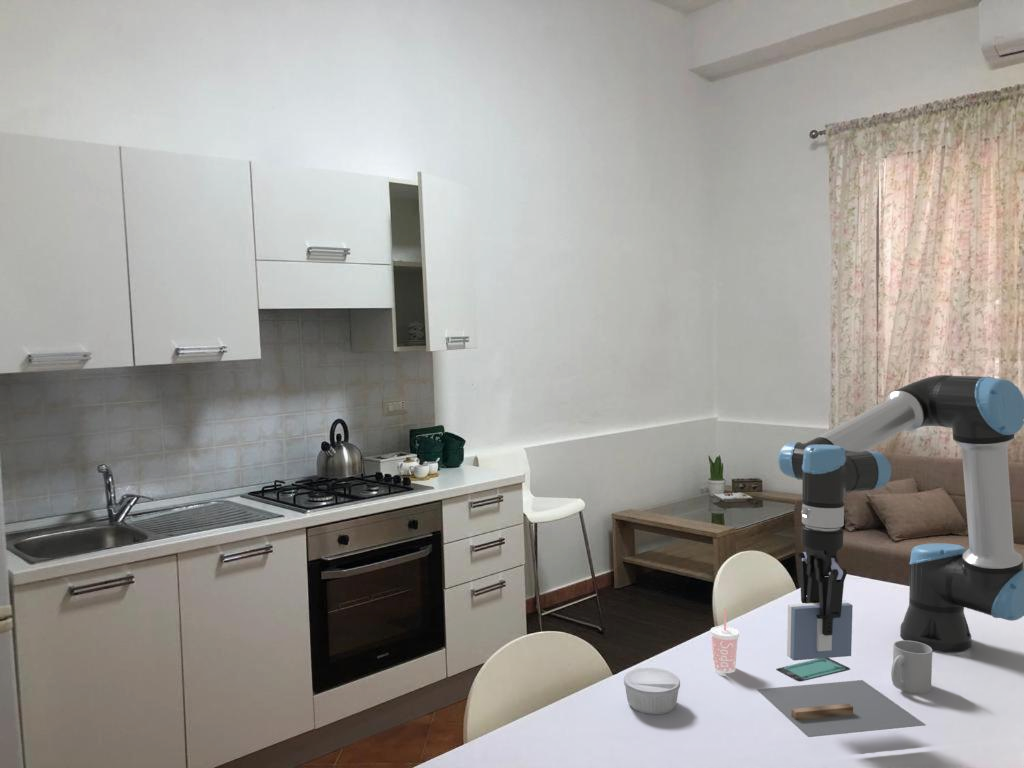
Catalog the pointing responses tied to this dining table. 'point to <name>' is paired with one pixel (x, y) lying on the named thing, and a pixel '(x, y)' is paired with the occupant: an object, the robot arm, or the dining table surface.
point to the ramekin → (651, 690)
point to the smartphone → (812, 669)
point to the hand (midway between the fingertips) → (819, 646)
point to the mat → (866, 702)
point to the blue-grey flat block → (805, 632)
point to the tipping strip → (822, 711)
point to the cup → (912, 666)
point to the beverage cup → (724, 648)
